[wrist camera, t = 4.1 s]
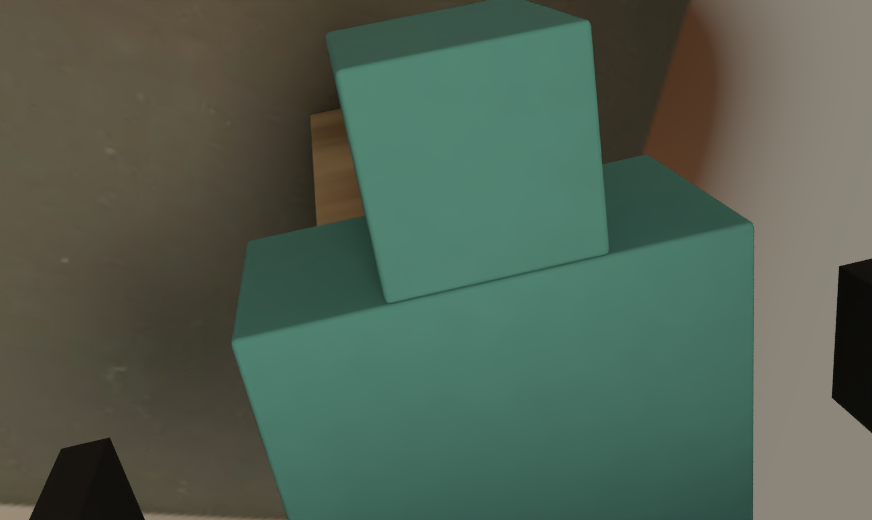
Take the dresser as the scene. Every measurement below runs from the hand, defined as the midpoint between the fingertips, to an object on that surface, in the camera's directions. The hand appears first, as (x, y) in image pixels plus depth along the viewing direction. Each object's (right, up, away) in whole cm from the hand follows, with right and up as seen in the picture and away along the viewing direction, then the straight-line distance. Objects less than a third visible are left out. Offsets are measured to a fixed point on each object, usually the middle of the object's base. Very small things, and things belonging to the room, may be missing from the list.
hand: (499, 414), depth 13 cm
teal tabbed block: (0, +2, +1) cm, 2 cm away
